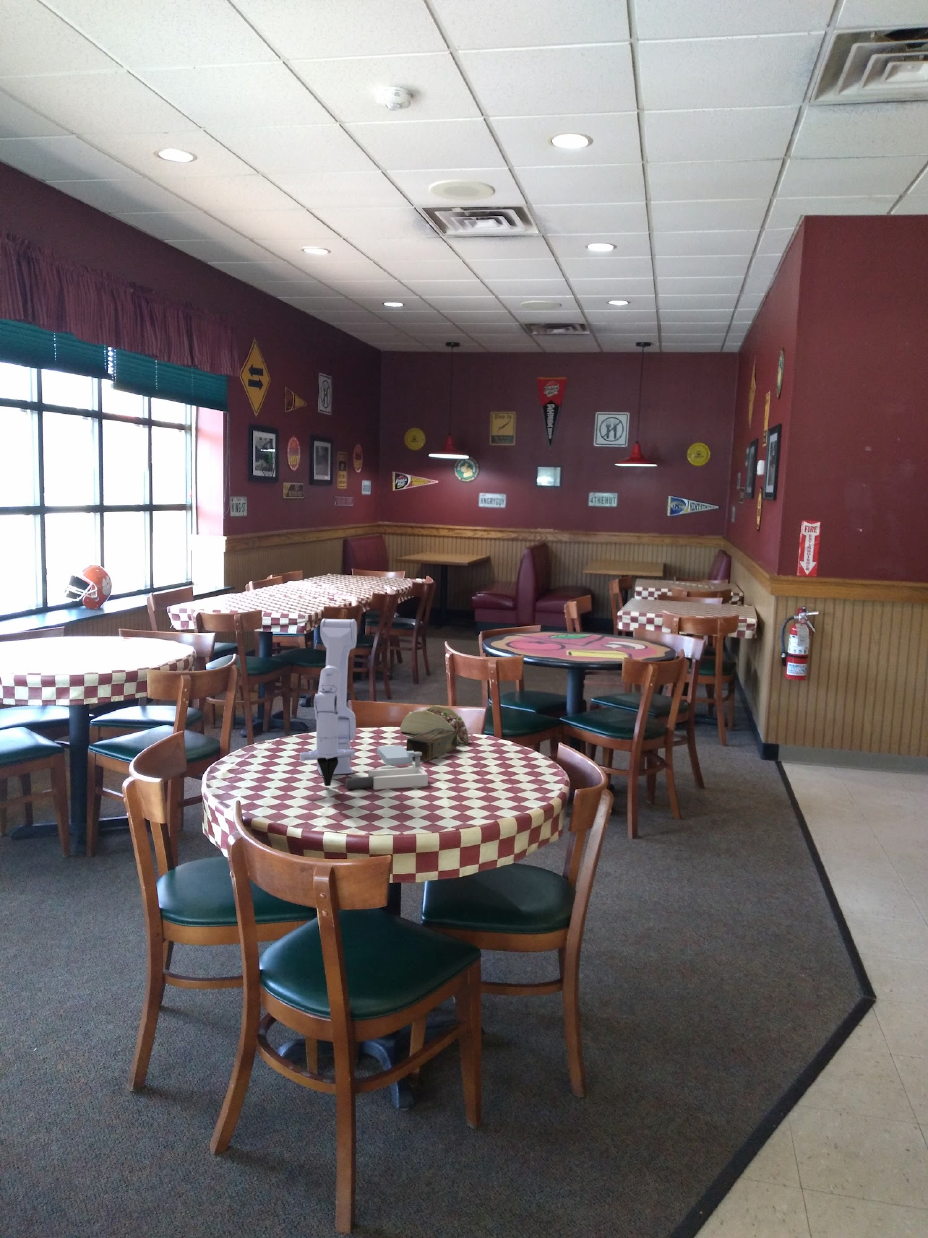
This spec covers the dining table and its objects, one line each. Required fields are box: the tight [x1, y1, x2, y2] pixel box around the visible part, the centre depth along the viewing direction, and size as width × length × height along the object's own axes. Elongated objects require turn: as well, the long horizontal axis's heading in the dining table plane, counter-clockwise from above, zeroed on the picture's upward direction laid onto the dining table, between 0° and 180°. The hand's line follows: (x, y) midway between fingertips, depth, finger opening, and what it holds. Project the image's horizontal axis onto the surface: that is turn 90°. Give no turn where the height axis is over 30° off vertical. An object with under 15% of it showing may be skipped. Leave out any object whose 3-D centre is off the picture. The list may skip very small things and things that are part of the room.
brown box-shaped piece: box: [405, 727, 458, 762], centre depth 286 cm, size 8×19×7 cm, turn 151°
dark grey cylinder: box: [345, 776, 376, 790], centre depth 249 cm, size 8×3×3 cm
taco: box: [399, 705, 471, 744], centre depth 306 cm, size 10×27×10 cm, turn 57°
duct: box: [367, 756, 429, 790], centre depth 254 cm, size 15×10×6 cm, turn 107°
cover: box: [376, 744, 422, 766], centre depth 265 cm, size 15×10×3 cm, turn 17°
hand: (327, 785), depth 248 cm, fingers closed
